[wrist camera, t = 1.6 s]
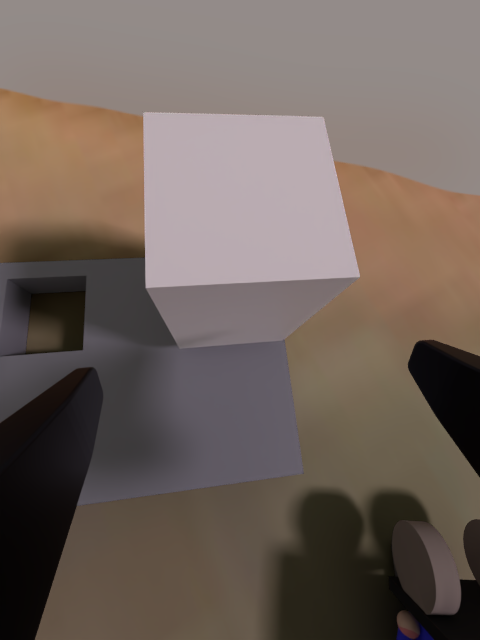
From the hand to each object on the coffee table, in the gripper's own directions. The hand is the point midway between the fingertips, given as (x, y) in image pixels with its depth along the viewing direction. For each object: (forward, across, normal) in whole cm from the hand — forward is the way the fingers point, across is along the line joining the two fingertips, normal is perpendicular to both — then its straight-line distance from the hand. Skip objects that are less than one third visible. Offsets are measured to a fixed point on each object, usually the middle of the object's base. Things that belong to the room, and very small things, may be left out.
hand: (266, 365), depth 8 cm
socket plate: (+10, +6, +7) cm, 13 cm away
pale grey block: (+11, 0, +4) cm, 12 cm away
